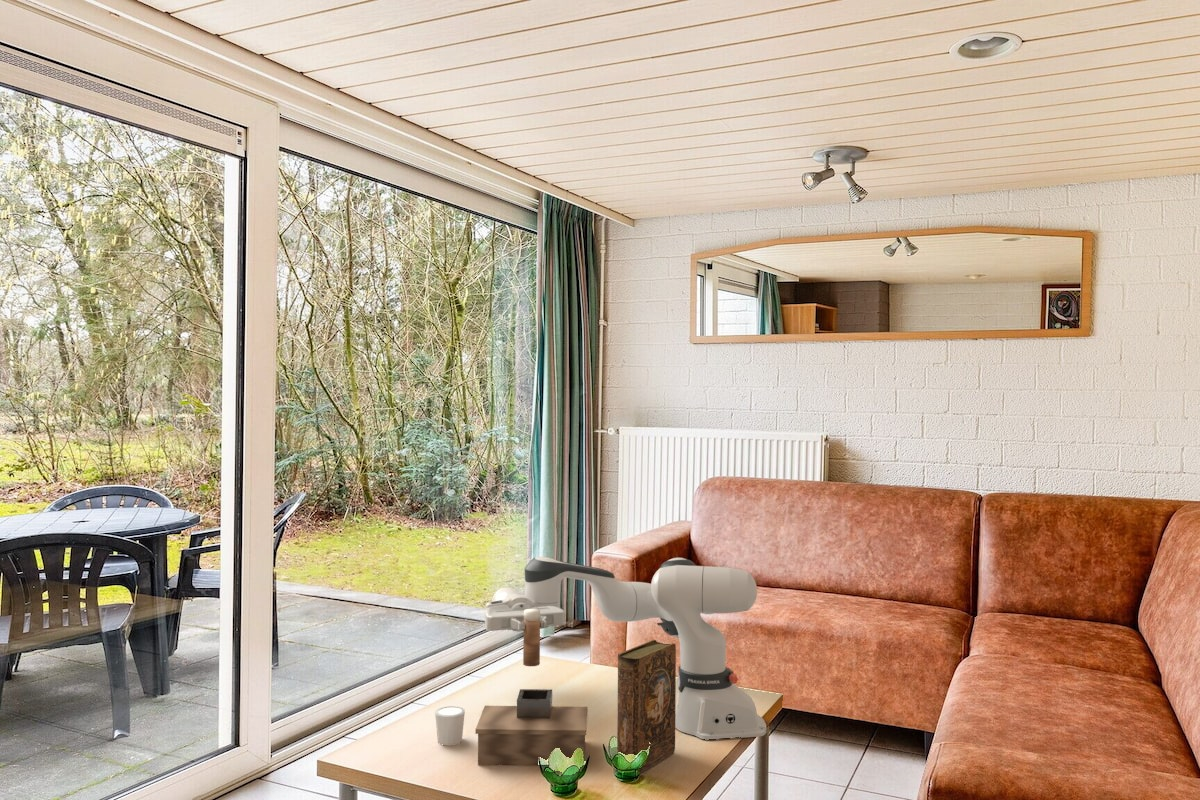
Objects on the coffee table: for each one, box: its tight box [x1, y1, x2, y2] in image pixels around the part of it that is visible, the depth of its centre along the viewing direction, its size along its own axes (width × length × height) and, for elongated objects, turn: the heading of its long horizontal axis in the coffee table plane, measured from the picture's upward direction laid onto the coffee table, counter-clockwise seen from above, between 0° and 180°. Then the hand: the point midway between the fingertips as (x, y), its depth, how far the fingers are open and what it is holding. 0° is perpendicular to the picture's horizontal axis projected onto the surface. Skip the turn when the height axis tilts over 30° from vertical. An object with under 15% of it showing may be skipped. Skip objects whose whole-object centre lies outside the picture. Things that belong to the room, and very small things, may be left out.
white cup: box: [434, 705, 466, 746], centre depth 202 cm, size 7×7×7 cm
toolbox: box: [475, 688, 588, 767], centre depth 195 cm, size 24×14×12 cm, turn 90°
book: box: [616, 639, 677, 776], centre depth 190 cm, size 16×6×25 cm, turn 144°
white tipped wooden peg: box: [522, 609, 541, 667], centre depth 212 cm, size 4×4×13 cm
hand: (532, 625), depth 211 cm, fingers closed on white tipped wooden peg, 4 cm apart
